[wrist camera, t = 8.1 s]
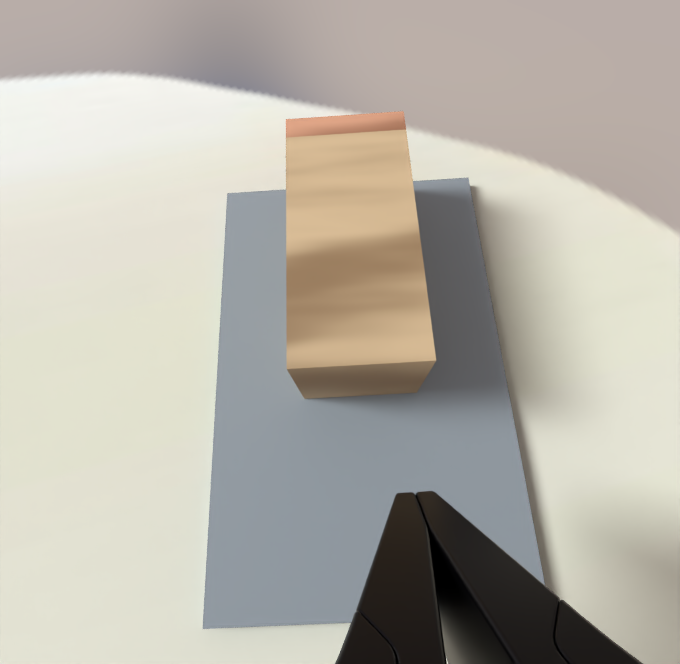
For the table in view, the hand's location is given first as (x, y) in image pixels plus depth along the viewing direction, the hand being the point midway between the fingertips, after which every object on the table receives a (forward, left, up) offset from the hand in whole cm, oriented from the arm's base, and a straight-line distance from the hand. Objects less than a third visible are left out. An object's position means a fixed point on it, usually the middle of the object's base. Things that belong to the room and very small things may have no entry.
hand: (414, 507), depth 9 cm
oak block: (+4, 0, -6) cm, 8 cm away
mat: (+6, -1, -9) cm, 11 cm away
